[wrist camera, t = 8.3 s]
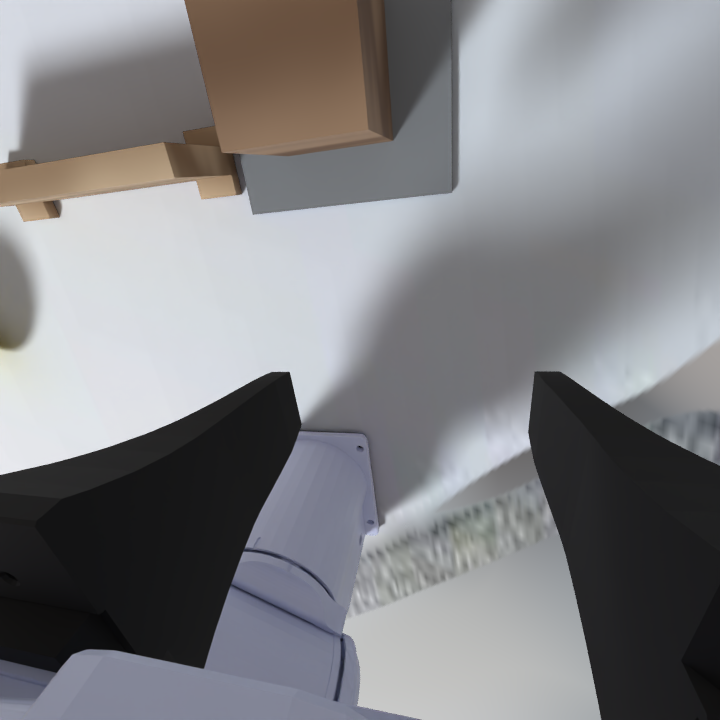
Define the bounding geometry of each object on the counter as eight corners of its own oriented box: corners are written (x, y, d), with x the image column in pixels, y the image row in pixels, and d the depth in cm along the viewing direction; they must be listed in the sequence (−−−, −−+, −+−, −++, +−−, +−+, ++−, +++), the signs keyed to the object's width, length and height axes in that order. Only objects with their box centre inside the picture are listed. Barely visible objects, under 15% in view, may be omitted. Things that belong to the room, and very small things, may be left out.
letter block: (393, 140, 16) (368, 129, 11) (288, 156, 18) (221, 152, 12) (382, -17, 14) (346, -124, 9) (263, 13, 15) (168, -66, 10)
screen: (242, 194, 19) (182, 202, 15) (33, 220, 22) (-66, 233, 18) (226, 126, 18) (155, 113, 13) (7, 164, 21) (-108, 164, 17)
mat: (451, 192, 17) (451, 192, 17) (255, 213, 19) (252, 214, 19) (450, -127, 13) (450, -133, 12) (196, -49, 15) (192, -53, 15)
